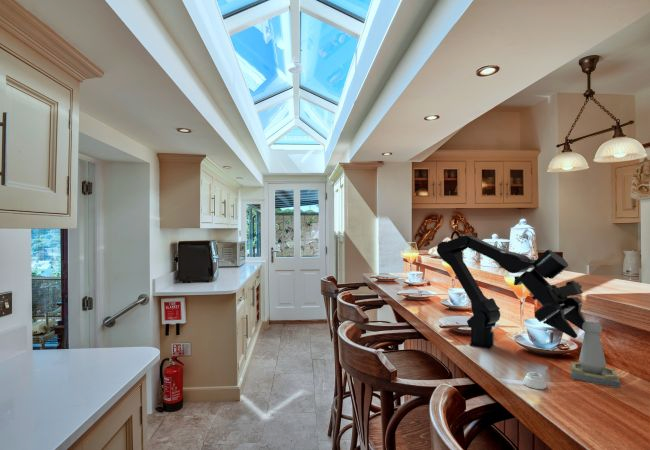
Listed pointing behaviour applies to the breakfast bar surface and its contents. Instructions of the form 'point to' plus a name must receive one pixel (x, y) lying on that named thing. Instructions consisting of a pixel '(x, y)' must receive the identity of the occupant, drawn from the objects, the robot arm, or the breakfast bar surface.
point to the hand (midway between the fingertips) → (582, 334)
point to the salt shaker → (592, 349)
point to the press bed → (595, 376)
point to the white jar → (534, 381)
